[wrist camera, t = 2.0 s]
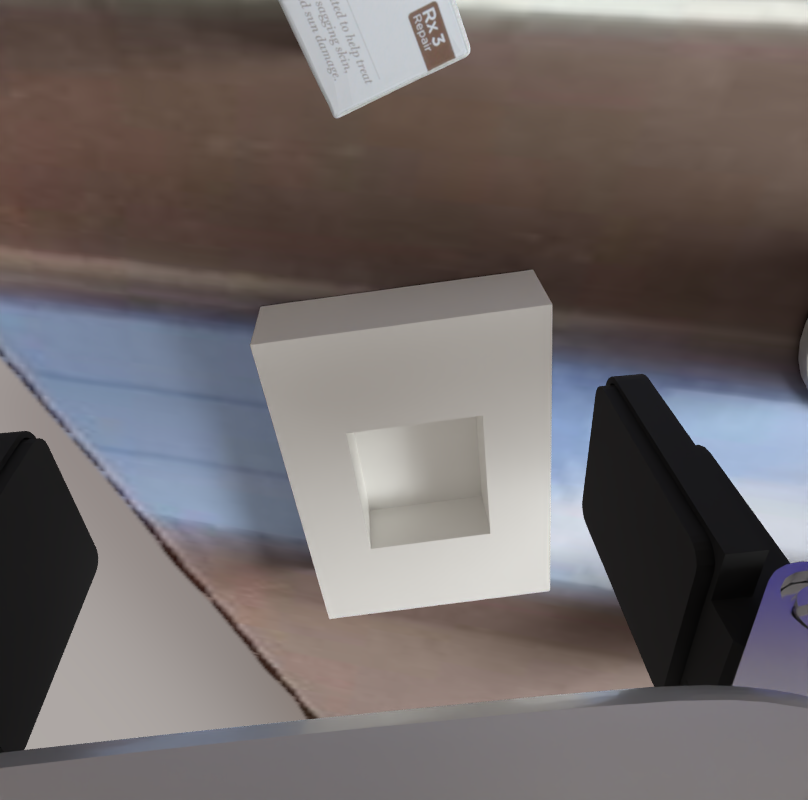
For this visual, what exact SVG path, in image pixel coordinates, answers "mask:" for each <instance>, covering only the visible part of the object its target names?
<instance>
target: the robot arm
mask: <svg viewBox="0 0 808 800" xmlns="http://www.w3.org/2000/svg"><path fill="white" fill-rule="evenodd" d="M798 361H799V367H800V373H801V377H802V379H803V381H804V383H805V385H806V387H807V389H808V319H807V321H806V323H805V327H804V330H803V333H802V336H801V340H800V346H799V357H798ZM582 508H583V515H584V519H585V522H586V525H587V527H588V530H589V532H590V535H591V537H592V539H593V542H594V544H595V546H596V549H597V551H598V554H599V556H600V558H601V561H602V563H603V566H604V568H605V570H606V573H607V575H608V578H609V580H610V582H611V585H612V587H613V590H614V592H615V594H616V597H617V599H618V602H619V604H620V606H621V609H622V611H623V614H624V616H625V618H626V621H627V623H628V625H629V628H630V630H631V633H632V635H633V637H634V640H635V642H636V645H637V647H638V649H639V652H640V654H641V657H642V659H643V661H644V664H645V666H646V669H647V671H648V673H649V676H650V678H651V681H652V683H653V685H654V687H646V688H634V689H622V690H610V691H597V692H585V693H573V694H561V695H549V696H538V697H528V698H518V699H508V700H498V701H488V702H478V703H468V704H457V705H447V706H437V707H427V708H417V709H407V710H397V711H387V712H377V713H367V714H358V715H348V716H338V717H329V718H319V719H309V720H300V721H291V722H281V723H271V724H261V725H252V726H242V727H233V728H223V729H214V730H205V731H195V732H186V733H177V734H167V735H158V736H149V737H139V738H130V739H121V740H113V741H103V742H94V743H85V744H76V745H66V746H58V747H49V748H40V749H30V750H24V749H25V747H26V745H27V742H28V740H29V737H30V735H31V732H32V730H33V727H34V725H35V722H36V719H37V717H38V714H39V712H40V710H41V707H42V705H43V702H44V700H45V697H46V695H47V692H48V690H49V687H50V685H51V682H52V680H53V677H54V675H55V672H56V670H57V668H58V665H59V662H60V660H61V657H62V655H63V652H64V650H65V648H66V645H67V643H68V640H69V637H70V635H71V633H72V630H73V628H74V625H75V622H76V620H77V617H78V615H79V613H80V610H81V608H82V605H83V603H84V600H85V598H86V595H87V593H88V590H89V587H90V585H91V583H92V580H93V578H94V575H95V573H96V570H97V566H98V553H97V549H96V547H95V545H94V542H93V540H92V538H91V536H90V534H89V532H88V530H87V528H86V525H85V523H84V521H83V519H82V517H81V515H80V513H79V511H78V508H77V506H76V504H75V502H74V500H73V498H72V496H71V494H70V491H69V489H68V487H67V485H66V483H65V481H64V479H63V477H62V475H61V472H60V471H59V468H58V466H57V464H56V462H55V460H54V458H53V455H52V453H51V451H50V449H49V447H48V445H47V443H46V442H45V441H44V440H43V439H40V438H39V439H36V437H35V436H34V435H33V434H32V433H31V432H28V431H21V432H10V433H0V800H808V562H796V563H791V564H790V562H789V561H788V560H787V558H786V557H785V555H784V554H783V553H782V551H781V550H780V549H779V547H778V546H777V544H776V543H775V542H774V540H773V539H772V537H771V536H770V535H769V533H768V532H767V531H766V529H765V528H764V526H763V525H762V524H761V522H760V521H759V520H758V518H757V517H756V515H755V514H754V513H753V511H752V510H751V508H750V507H749V506H748V504H747V503H746V502H745V500H744V499H743V497H742V496H741V495H740V493H739V492H738V490H737V489H736V488H735V486H734V485H733V484H732V482H731V481H730V479H729V478H728V477H727V475H726V474H725V472H724V471H723V470H722V468H721V467H720V466H719V464H718V463H717V461H716V460H715V459H714V457H713V456H712V455H711V453H710V452H709V451H708V450H707V449H706V448H705V447H703V446H701V445H695V444H694V442H693V441H692V440H691V438H690V437H689V435H688V434H687V433H686V431H685V430H684V428H683V427H682V425H681V424H680V423H679V421H678V420H677V418H676V417H675V415H674V414H673V413H672V411H671V410H670V408H669V407H668V406H667V404H666V403H665V401H664V400H663V398H662V397H661V396H660V394H659V393H658V391H657V390H656V389H655V387H654V386H653V384H652V383H651V381H650V380H649V379H648V377H647V376H646V375H644V374H637V375H626V376H615V377H610V378H609V379H608V381H607V383H606V386H599V387H598V388H597V391H596V396H595V404H594V412H593V420H592V428H591V436H590V444H589V452H588V460H587V468H586V476H585V484H584V492H583V501H582Z"/></svg>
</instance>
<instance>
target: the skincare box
mask: <svg viewBox="0 0 808 800" xmlns="http://www.w3.org/2000/svg"><path fill="white" fill-rule="evenodd" d="M278 1H279V3H280V5H281V8H282V10H283V12H284V14H285V16H286V18H287V20H288V22H289V24H290V27H291V29H292V31H293V33H294V35H295V37H296V39H297V41H298V43H299V46H300V48H301V50H302V52H303V54H304V56H305V58H306V60H307V62H308V64H309V67H310V69H311V71H312V73H313V75H314V77H315V79H316V81H317V83H318V85H319V87H320V89H321V91H322V93H323V95H324V97H325V99H326V101H327V103H328V105H329V107H330V109H331V112H332V114H333V117H335V118H339V117H342V116H344V115H346V114H348V113H350V112H352V111H354V110H356V109H358V108H360V107H362V106H364V105H366V104H368V103H371V102H373V101H375V100H377V99H379V98H381V97H383V96H385V95H387V94H389V93H391V92H393V91H395V90H397V89H399V88H401V87H403V86H406V85H408V84H410V83H412V82H414V81H416V80H418V79H420V78H422V77H425V76H427V75H429V74H431V73H433V72H436V71H438V70H440V69H442V68H444V67H446V66H448V65H450V64H452V63H454V62H457V61H459V60H461V59H463V58H465V57H467V56H468V55H469V53H470V44H469V41H468V38H467V35H466V32H465V29H464V26H463V23H462V20H461V17H460V13H459V10H458V7H457V4H456V1H455V0H278Z"/></svg>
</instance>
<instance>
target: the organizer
mask: <svg viewBox="0 0 808 800" xmlns="http://www.w3.org/2000/svg"><path fill="white" fill-rule="evenodd" d="M250 347H251V350H252V354H253V357H254V361H255V364H256V367H257V371H258V374H259V378H260V381H261V385H262V388H263V392H264V395H265V398H266V402H267V405H268V409H269V412H270V416H271V419H272V423H273V426H274V430H275V433H276V436H277V440H278V443H279V447H280V450H281V454H282V457H283V461H284V464H285V468H286V471H287V474H288V478H289V481H290V485H291V488H292V492H293V495H294V499H295V502H296V506H297V509H298V512H299V516H300V519H301V523H302V526H303V530H304V533H305V537H306V540H307V543H308V547H309V550H310V554H311V557H312V561H313V564H314V568H315V571H316V575H317V578H318V581H319V585H320V588H321V592H322V595H323V599H324V602H325V606H326V609H327V613H328V616H329V619H332V618H340V617H348V616H356V615H364V614H372V613H380V612H388V611H396V610H403V609H411V608H419V607H427V606H435V605H443V604H451V603H459V602H467V601H475V600H482V599H490V598H498V597H506V596H514V595H522V594H530V593H538V592H546V591H550V526H551V409H552V303H551V301H550V299H549V297H548V296H547V294H546V292H545V290H544V288H543V287H542V285H541V283H540V281H539V279H538V278H537V276H536V274H535V272H534V270H526V271H519V272H511V273H504V274H497V275H489V276H482V277H475V278H467V279H460V280H453V281H445V282H438V283H431V284H423V285H416V286H408V287H401V288H394V289H386V290H379V291H372V292H364V293H357V294H350V295H342V296H335V297H327V298H320V299H313V300H305V301H298V302H291V303H283V304H276V305H269V306H261V307H260V310H259V314H258V318H257V321H256V325H255V329H254V332H253V336H252V340H251V343H250Z"/></svg>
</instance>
